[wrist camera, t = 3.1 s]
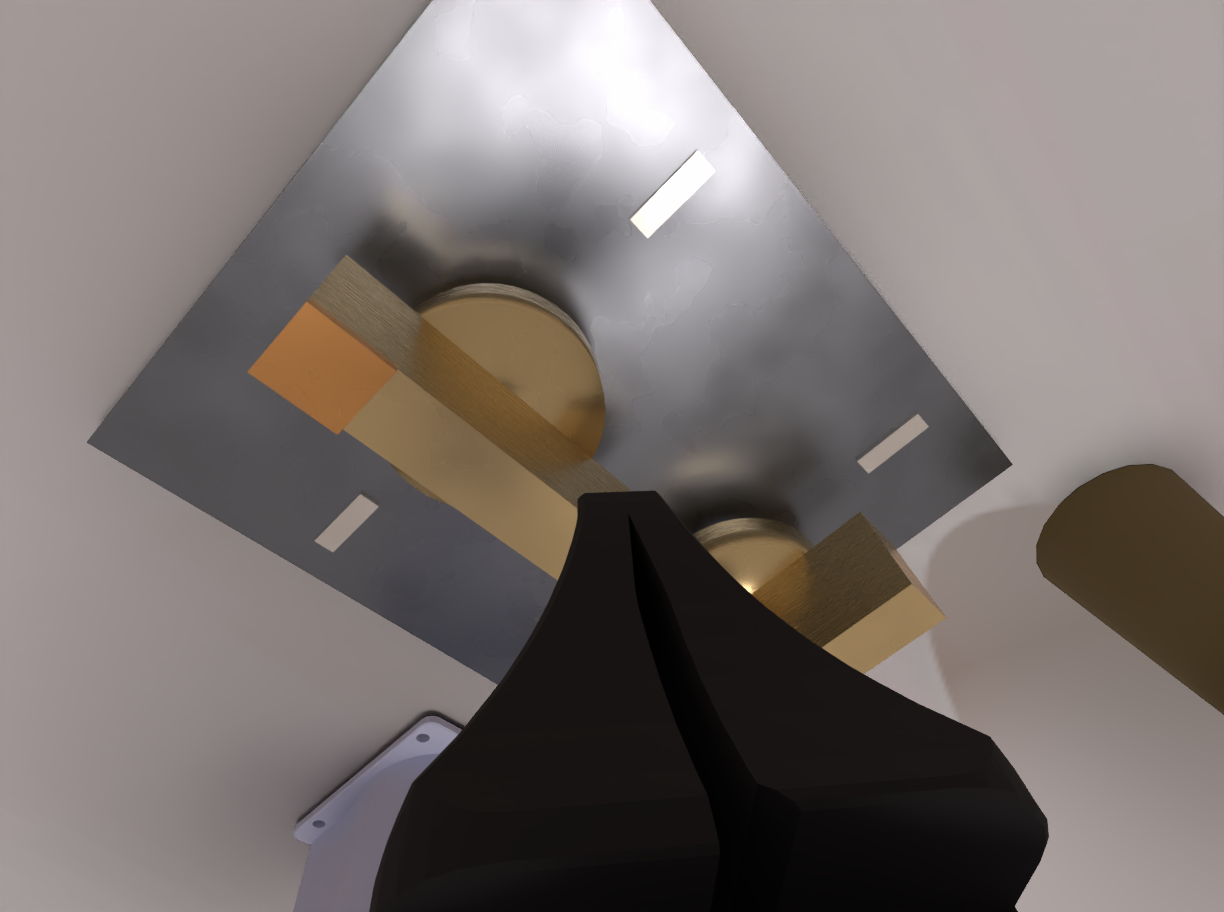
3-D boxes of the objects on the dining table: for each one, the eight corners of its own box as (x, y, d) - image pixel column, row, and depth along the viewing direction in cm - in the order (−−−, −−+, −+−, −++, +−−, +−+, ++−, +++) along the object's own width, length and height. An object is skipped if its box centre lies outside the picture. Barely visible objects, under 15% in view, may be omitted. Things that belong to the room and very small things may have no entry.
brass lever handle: (549, 549, 23) (555, 672, 18) (268, 346, 18) (188, 441, 14) (689, 427, 21) (732, 529, 17) (415, 172, 17) (376, 218, 12)
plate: (613, 734, 31) (617, 770, 29) (104, 426, 21) (71, 456, 20) (996, 450, 25) (1027, 476, 24) (539, -129, 16) (542, -147, 14)
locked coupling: (903, 548, 24) (987, 659, 20) (685, 706, 27) (716, 835, 23) (801, 444, 22) (871, 546, 17) (572, 631, 25) (583, 759, 20)
